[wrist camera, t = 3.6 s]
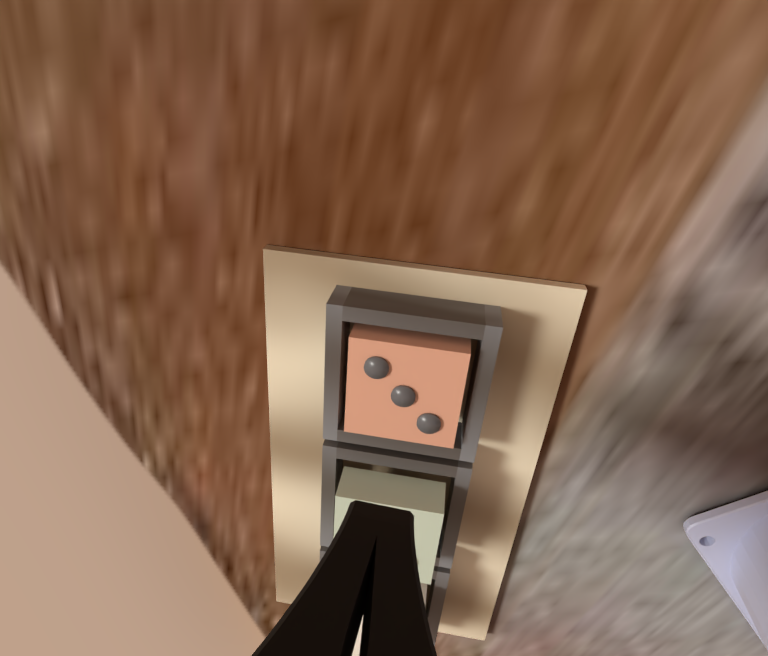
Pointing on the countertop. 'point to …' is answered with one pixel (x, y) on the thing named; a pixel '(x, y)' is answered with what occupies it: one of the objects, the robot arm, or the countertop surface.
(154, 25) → the countertop surface
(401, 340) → the key three
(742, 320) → the countertop surface
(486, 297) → the key board
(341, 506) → the key two
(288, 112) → the countertop surface
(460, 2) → the countertop surface
